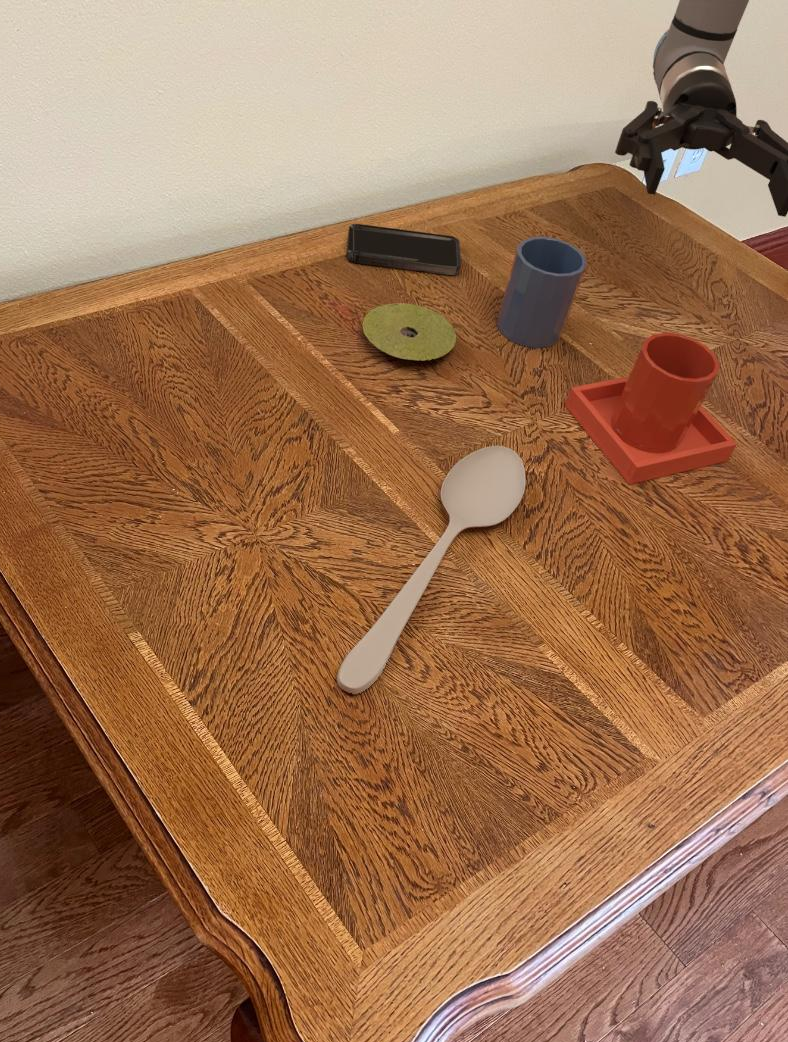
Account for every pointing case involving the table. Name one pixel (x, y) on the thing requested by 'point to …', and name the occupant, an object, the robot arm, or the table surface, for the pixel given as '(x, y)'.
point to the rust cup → (664, 392)
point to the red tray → (695, 450)
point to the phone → (403, 249)
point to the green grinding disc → (409, 331)
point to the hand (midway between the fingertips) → (722, 192)
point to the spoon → (440, 551)
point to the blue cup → (540, 291)
